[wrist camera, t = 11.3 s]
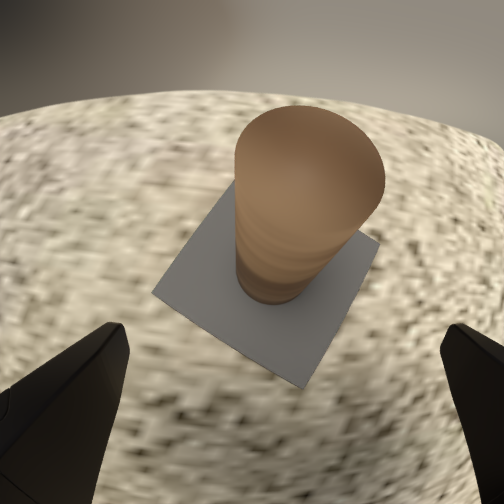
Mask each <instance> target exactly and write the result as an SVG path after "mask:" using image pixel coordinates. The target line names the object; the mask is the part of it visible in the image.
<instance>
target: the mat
mask: <svg viewBox="0 0 504 504" xmlns="http://www.w3.org/2000/svg"><path fill="white" fill-rule="evenodd" d="M379 246H380V244H379V243H378V242H376V241H375V240H373V239H372V238H370V237H368V236H367V235H365V234H364V233H362V232H361V231H359V230H357V231H356V232H355V234H354V235H353V236H352V237H351V238H350V239H349V240H348V242H347V243H346V244H345V245H344V246H343V247H342V248H341V249H340V251H339V252H338V253H337V254H336V255H335V256H334V257H333V258H332V259H331V261H330V262H329V263H328V264H327V265H326V266H325V267H324V268H323V269H322V270H321V272H320V273H319V274H318V275H317V276H316V277H315V278H314V279H313V280H312V281H311V282H310V283H309V284H308V286H307V287H306V288H305V289H304V290H303V291H302V292H301V293H300V294H299V295H298V296H297V297H296V298H294V299H293V300H291V301H289V302H287V303H284V304H280V305H266V304H262V303H260V302H257V301H255V300H253V299H252V298H251V297H249V296H248V295H247V294H246V293H245V292H244V291H243V289H242V288H241V286H240V284H239V282H238V279H237V275H236V246H235V180H234V181H233V182H232V184H231V185H230V186H229V187H228V189H227V190H226V191H225V193H224V194H223V195H222V196H221V198H220V199H219V200H218V202H217V203H216V204H215V206H214V207H213V208H212V210H211V211H210V212H209V214H208V215H207V216H206V218H205V219H204V220H203V222H202V223H201V224H200V226H199V227H198V228H197V230H196V231H195V232H194V234H193V235H192V236H191V238H190V239H189V240H188V242H187V243H186V245H185V246H184V247H183V249H182V250H181V251H180V253H179V254H178V256H177V257H176V258H175V260H174V261H173V263H172V264H171V265H170V267H169V268H168V270H167V271H166V272H165V274H164V275H163V277H162V278H161V280H160V281H159V282H158V284H157V285H156V287H155V288H154V290H153V291H152V292H151V293H152V294H154V295H155V296H157V297H158V298H159V299H161V300H162V301H163V302H165V303H166V304H168V305H169V306H171V307H172V308H173V309H175V310H176V311H178V312H179V313H181V314H182V315H184V316H185V317H186V318H188V319H189V320H191V321H192V322H194V323H195V324H197V325H198V326H200V327H201V328H203V329H204V330H206V331H207V332H209V333H210V334H212V335H213V336H215V337H216V338H218V339H220V340H221V341H223V342H224V343H226V344H227V345H229V346H231V347H232V348H234V349H235V350H237V351H239V352H240V353H242V354H243V355H245V356H247V357H248V358H250V359H252V360H253V361H255V362H256V363H258V364H260V365H261V366H263V367H265V368H266V369H268V370H270V371H272V372H273V373H275V374H277V375H278V376H280V377H282V378H284V379H285V380H287V381H289V382H291V383H292V384H294V385H296V386H298V387H300V388H301V389H304V387H305V386H306V384H307V382H308V381H309V379H310V378H311V376H312V374H313V373H314V371H315V369H316V368H317V366H318V364H319V362H320V361H321V359H322V357H323V356H324V354H325V352H326V350H327V349H328V347H329V345H330V343H331V341H332V340H333V338H334V336H335V334H336V332H337V331H338V329H339V327H340V325H341V323H342V321H343V319H344V318H345V316H346V314H347V312H348V310H349V308H350V306H351V304H352V302H353V300H354V298H355V296H356V294H357V292H358V290H359V288H360V286H361V284H362V282H363V280H364V278H365V276H366V274H367V272H368V270H369V268H370V266H371V263H372V261H373V259H374V257H375V255H376V253H377V250H378V248H379Z"/></svg>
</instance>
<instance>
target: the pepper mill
mask: <svg viewBox="0 0 504 504" xmlns="http://www.w3.org/2000/svg"><path fill="white" fill-rule="evenodd" d="M384 188H385V170H384V166H383V162H382V159H381V157H380V155H379V152H378V151H377V149H376V147H375V146H374V144H373V143H372V141H371V140H370V139H369V138H368V137H367V135H366V134H365V133H364V132H363V131H362V130H361V129H359V128H358V127H357V126H356V125H354V124H353V123H352V122H350V121H349V120H347V119H345V118H344V117H342V116H340V115H338V114H336V113H333V112H331V111H328V110H325V109H321V108H317V107H311V106H300V105H299V106H285V107H280V108H276V109H273V110H270V111H267V112H265V113H263V114H262V115H260V116H258V117H257V118H255V119H254V120H253V121H252V122H251V123H249V124H248V125H247V127H246V128H245V129H244V130H243V132H242V133H241V135H240V137H239V139H238V142H237V145H236V149H235V246H236V275H237V279H238V282H239V284H240V286H241V288H242V289H243V291H244V292H245V293H246V294H247V295H248V296H249V297H251V298H252V299H253V300H255V301H257V302H260V303H262V304H266V305H280V304H284V303H287V302H289V301H291V300H293V299H294V298H296V297H297V296H298V295H299V294H300V293H301V292H302V291H303V290H304V289H305V288H306V287H307V286H308V284H309V283H310V282H311V281H312V280H313V279H314V278H315V277H316V276H317V275H318V274H319V273H320V272H321V270H322V269H323V268H324V267H325V266H326V265H327V264H328V263H329V262H330V261H331V259H332V258H333V257H334V256H335V255H336V254H337V253H338V252H339V251H340V249H341V248H342V247H343V246H344V245H345V244H346V243H347V242H348V240H349V239H350V238H351V237H352V236H353V235H354V234H355V232H356V231H357V230H358V229H359V228H360V227H361V226H362V224H363V223H364V222H365V221H366V220H367V219H368V217H369V216H370V215H371V214H372V213H373V212H374V210H375V209H376V208H377V206H378V205H379V203H380V201H381V199H382V196H383V193H384Z"/></svg>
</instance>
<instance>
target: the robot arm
mask: <svg viewBox="0 0 504 504" xmlns="http://www.w3.org/2000/svg"><path fill="white" fill-rule="evenodd" d="M129 354H130V348H129V344H128V340H127V336H126V332H125V328H124V326H123V325H122V324H121V323H115V322H107V323H105V324H104V325H102V326H101V327H99V328H98V329H96V330H94V331H93V332H91V333H90V334H88V335H87V336H85V337H84V338H82V339H81V340H79V341H78V342H76V343H75V344H73V345H72V346H70V347H69V348H67V349H66V350H64V351H63V352H61V353H60V354H58V355H57V356H55V357H54V358H52V359H51V360H49V361H48V362H46V363H45V364H43V365H42V366H40V367H39V368H37V369H36V370H34V371H33V372H31V373H30V374H28V375H27V376H25V377H24V378H22V379H21V380H19V381H18V382H16V383H15V384H14V385H12V386H11V387H10V388H8V389H6V390H5V391H3V392H2V393H0V504H92V500H93V496H94V491H95V487H96V483H97V480H98V476H99V472H100V468H101V464H102V461H103V457H104V454H105V450H106V447H107V443H108V440H109V436H110V433H111V430H112V426H113V423H114V420H115V416H116V413H117V410H118V406H119V403H120V398H121V393H122V388H123V383H124V378H125V374H126V369H127V364H128V360H129ZM440 355H441V358H442V362H443V365H444V369H445V372H446V376H447V380H448V384H449V388H450V391H451V395H452V398H453V401H454V404H455V407H456V410H457V413H458V416H459V419H460V422H461V425H462V428H463V432H464V435H465V438H466V442H467V445H468V449H469V452H470V456H471V460H472V464H473V468H474V472H475V476H476V480H477V484H478V489H479V494H480V498H481V504H504V346H502V345H500V344H499V343H497V342H495V341H493V340H492V339H490V338H488V337H486V336H485V335H483V334H481V333H479V332H478V331H476V330H474V329H472V328H471V327H469V326H467V325H465V324H463V323H456V324H452V325H450V326H449V328H448V330H447V332H446V335H445V337H444V339H443V341H442V343H441V346H440Z"/></svg>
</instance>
